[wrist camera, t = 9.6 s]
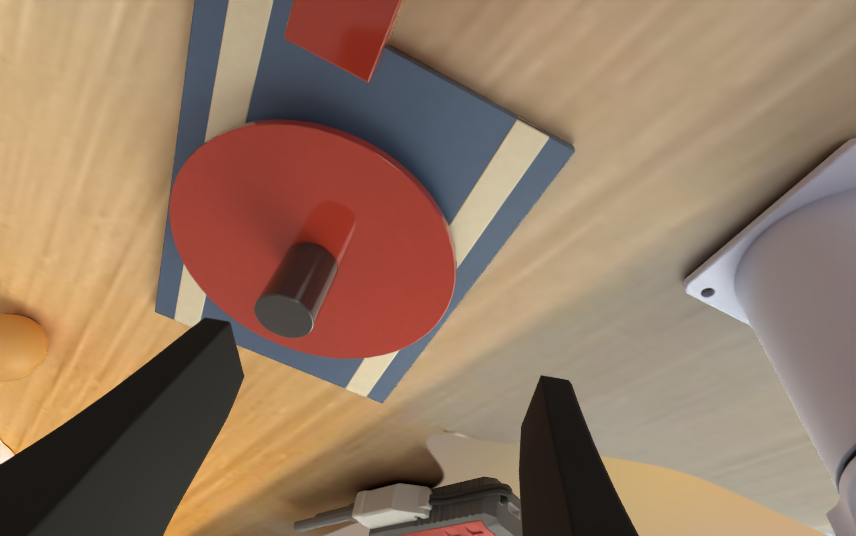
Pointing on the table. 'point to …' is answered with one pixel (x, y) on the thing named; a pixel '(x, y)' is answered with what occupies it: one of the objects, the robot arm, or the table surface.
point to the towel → (373, 122)
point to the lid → (313, 239)
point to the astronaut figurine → (5, 453)
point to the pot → (345, 31)
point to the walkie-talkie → (431, 510)
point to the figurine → (20, 347)
